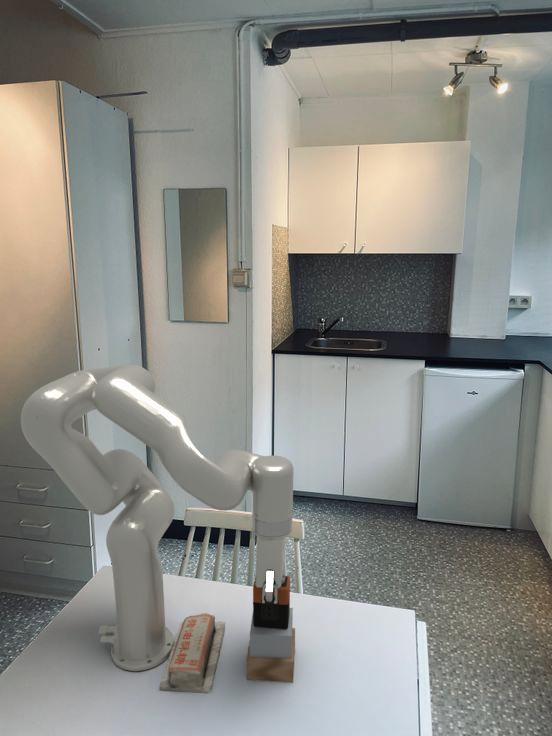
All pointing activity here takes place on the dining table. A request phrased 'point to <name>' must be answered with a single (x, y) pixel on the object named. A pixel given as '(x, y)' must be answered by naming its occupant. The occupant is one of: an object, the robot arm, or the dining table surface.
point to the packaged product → (194, 655)
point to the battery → (283, 609)
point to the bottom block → (271, 666)
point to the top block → (271, 641)
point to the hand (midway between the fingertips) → (271, 601)
